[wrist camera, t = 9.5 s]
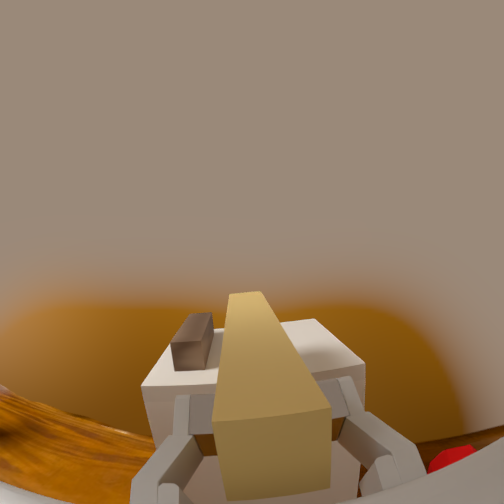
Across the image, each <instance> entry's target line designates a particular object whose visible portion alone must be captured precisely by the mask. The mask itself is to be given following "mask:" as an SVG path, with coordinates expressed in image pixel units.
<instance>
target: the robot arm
mask: <svg viewBox="0 0 504 504" xmlns="http://www.w3.org/2000/svg"><path fill="white" fill-rule="evenodd" d="M316 383H317V384H318V386H319V387H320V389H321V391H322V392H323V394H324V396H325V397H326V399H327V400H328V402H329V404H330V405H331V407H332V441H337V440H338V441H337V442H338V443H340V444H341V445H342V446H343V447H344V448H345V449H346V450H347V451H348V452H349V453H350V454H351V455H352V456H353V457H354V458H356V459H357V460H358V461H359V462H360V463H361V464H362V465H363V466H364V467H365V468H366V469H368V471H367V473H366V474H365V476H364V477H363V478H362V480H361V481H360V482H359V487H360V491H361V494H362V497H359V498H355V499H351V500H347V501H343V502H339V503H334V504H504V437H502V438H500V439H499V440H497V441H495V442H493V443H492V444H490V445H488V446H486V447H484V448H483V449H481V450H479V451H477V452H475V453H473V454H471V455H469V456H467V457H465V458H463V459H461V460H459V461H457V462H455V463H453V464H450V465H448V466H446V467H444V468H441V469H439V470H437V471H434V472H432V473H430V474H427V473H426V470H425V467H424V465H423V462H422V460H421V457H420V455H419V452H418V450H417V447H416V445H415V444H414V443H412V442H411V441H409V440H408V439H406V438H405V437H404V436H402V435H401V434H399V433H398V432H397V431H395V430H394V429H392V428H391V427H389V426H388V425H387V424H385V423H384V422H382V421H381V420H380V419H378V418H377V417H376V416H374V415H373V414H371V413H370V412H365V411H364V408H363V406H362V403H361V400H360V397H359V395H358V392H357V390H356V387H355V384H354V382H353V379H352V377H351V376H345V377H340V378H333V379H328V380H323V381H317V382H316ZM214 399H215V394H199V395H176V398H175V407H174V421H173V435H169V436H168V437H167V438H166V439H165V441H164V442H163V443H162V444H161V445H160V447H159V448H158V449H157V450H156V452H155V453H154V454H153V455H152V456H151V458H150V459H149V460H148V461H147V463H146V464H145V465H144V466H143V467H142V469H141V470H140V471H139V472H138V473H137V475H136V476H135V477H134V478H133V479H132V485H131V495H130V504H194V503H193V502H192V501H191V500H190V499H189V498H188V497H187V496H186V494H185V493H184V492H183V490H184V489H185V487H186V485H187V484H188V482H189V481H190V479H191V478H192V476H193V474H194V473H195V471H196V470H197V468H198V466H199V465H200V463H201V462H202V460H203V458H204V457H203V456H218V455H217V450H216V444H215V439H214V434H213V428H212V422H211V421H212V414H213V406H214ZM0 504H73V503H69V502H64V501H60V500H57V499H53V498H49V497H46V496H42V495H39V494H36V493H33V492H30V491H26V490H23V489H21V488H18V487H15V486H12V485H9V484H7V483H4V482H2V481H0Z"/></svg>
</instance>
